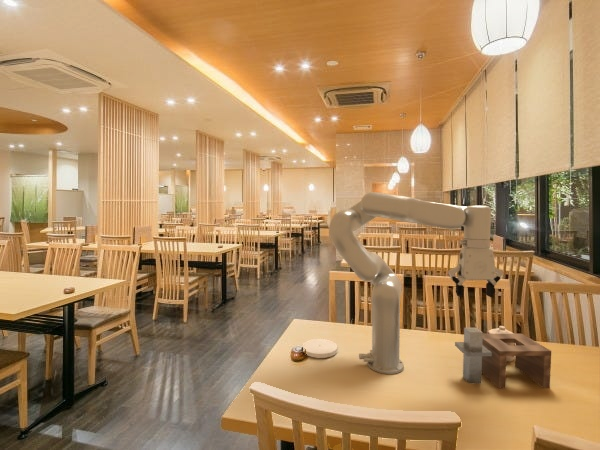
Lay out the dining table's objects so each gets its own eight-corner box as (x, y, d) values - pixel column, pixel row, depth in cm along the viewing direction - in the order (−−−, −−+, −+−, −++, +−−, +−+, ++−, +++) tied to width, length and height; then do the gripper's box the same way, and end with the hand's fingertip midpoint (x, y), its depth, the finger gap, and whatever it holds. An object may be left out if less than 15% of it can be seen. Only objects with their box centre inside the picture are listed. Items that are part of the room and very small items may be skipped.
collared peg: (465, 386, 107) (467, 334, 106) (454, 373, 115) (455, 325, 114) (490, 386, 107) (492, 334, 106) (477, 373, 115) (479, 325, 114)
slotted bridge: (498, 388, 106) (500, 351, 105) (475, 366, 120) (476, 333, 119) (549, 388, 106) (551, 351, 105) (520, 366, 120) (521, 333, 119)
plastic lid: (336, 361, 125) (336, 355, 125) (299, 359, 127) (299, 352, 127) (338, 345, 138) (338, 339, 138) (305, 343, 141) (305, 337, 141)
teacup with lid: (518, 363, 122) (520, 332, 121) (490, 360, 124) (491, 329, 123) (508, 349, 133) (509, 321, 132) (483, 347, 136) (483, 318, 135)
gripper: (455, 245, 104) (453, 299, 105) (510, 245, 104) (508, 299, 105) (444, 242, 111) (443, 293, 113) (496, 242, 111) (494, 293, 113)
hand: (474, 296), depth 109 cm, fingers open, 9 cm apart
